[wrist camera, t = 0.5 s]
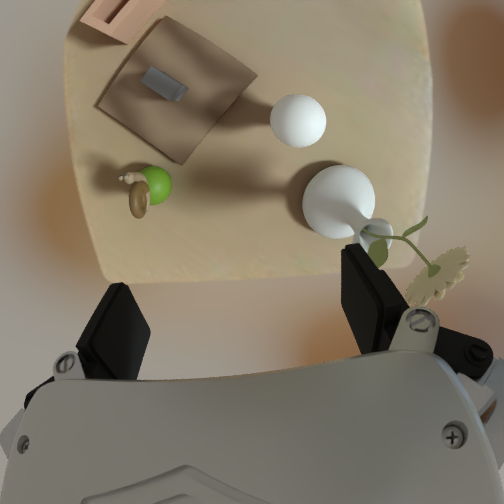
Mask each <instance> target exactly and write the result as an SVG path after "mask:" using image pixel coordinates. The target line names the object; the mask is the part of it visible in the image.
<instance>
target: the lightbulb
mask: <svg viewBox="0 0 504 504" xmlns="http://www.w3.org/2000/svg"><path fill="white" fill-rule="evenodd" d="M270 125H271V128H272V131H273V133H274V134H275V136H276V137H277V138H278V139H279V140H280V141H282V142H283V143H285V144H286V145H289V146H292V147H306V146H309V145H311V144H313V143H315V142H316V141H318V140H319V139H320V137H321V136H322V134H323V133H324V130H325V127H326V117H325V113H324V111H323V109H322V107H321V106H320V104H319V103H318V102H317V101H315V100H314V99H312V98H311V97H309V96H306V95H302V94H292V95H288V96H286V97H283V98H282V99H280V100H279V101H278V102H277V103H276V104H275V105H274V107H273V109H272V111H271V115H270Z"/></svg>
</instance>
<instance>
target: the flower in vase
mask: <svg viewBox="0 0 504 504" xmlns="http://www.w3.org/2000/svg"><path fill="white" fill-rule="evenodd" d="M374 206H375V195H374V190H373V187H372V184H371V182H370V181H369V179H368V178H367V176H366V175H365V174H364V173H362V172H361V171H360V170H358V169H356V168H354V167H351V166H347V165H336V166H331V167H328V168H326V169H324V170H322V171H320V172H319V173H318V174H316V175H315V176H314V177H313V178H312V180H311V181H310V182H309V184H308V185H307V187H306V190H305V192H304V196H303V202H302V207H303V213H304V217H305V219H306V221H307V223H308V224H309V226H310V227H311V228H312V229H313V230H314V231H315V232H317V233H318V234H320V235H322V236H325V237H329V238H335V239H339V238H346V237H349V236H352V235H354V237H353V244H354V243H360V244H361V246H362V247H363V248H364V250H365V251H366V252H367V254H368V255H369V257H370V258H371V259H372V261H373V262H374V263H375V265H376V266H377V268H379V267H380V266H382V265H383V264H384V263H385V262H386V260H387V258H388V248H389V247H390V245H391V242H392V239H398V240H403V241H405V242H407V243H408V244H409V245H410V246H411V247H412V248H413V249H414V250H415V251H416V252H417V254H418V255H419V256H420V257H421V258H422V259H423V261H424V262H425V263H426V264H427V265H428V266H427V267H426V268H424V269H423V270H422V271H421V272H420V274H419V275H418V276H416V278H415V279H414V281H413V282H412V283H411V284H410V285H409V286H408V288H407V290H406V291H407V292H406V294H405V301H406V302H407V301H408V300H409V301H408V303H407V304H408V305H410V304H412V303H414V302H415V301H416V304H415V306H425V305H426V304H427V302H428V301H429V299H431V298H432V296H434V299H435V300H436V301H439V300H441V299H442V298H443V297H444V294H445V289H446V290H449V289H451V288H453V287H454V285H455V282H459V281H461V280H462V279H463V278H464V276H465V275H464V273H462V272H461V271H462V270H463V269H465V268H466V267H468V265H469V262H468V260H469V258H470V256H469V255H467V254H468V253H469V251H466V250H467V247H466V246H464V247H462V248H459V247H457V248H455V249H451V250H449V251H447V252H446V253H445V254H442V255H440V256H439V257H438V258H437V259H436V260H434V261H432V262H431V263H429V262H428V261H427V259H426V258H425V257H424V256H423V255H422V254H421V252H420V251H419V250H418V249H417V248H416V247H415V246H414V245H413V244H412V243H411V242H410V241H409V240H408V239H406V238H404V237H406V236H408V235H409V234H411V233H413V232H415V231H417V230H419V229H420V228H422V227H423V226H424V225H425V224H426V223H427V219H428V216H426V218H425V219H424V220H423V221H422V222H420V223H419V224H417V225H415V226H413V227H411V228H409V229H407V230H406V231H405V232H404V233H403V235H402V237H400V236H393V231H392V228H391V226H390V224H389V223H388V222H387V221H386V220H384V219H381V218H372V219H370V218H371V216H372V214H373V211H374Z"/></svg>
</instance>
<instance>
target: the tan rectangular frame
mask: <svg viewBox="0 0 504 504" xmlns="http://www.w3.org/2000/svg"><path fill="white" fill-rule="evenodd" d="M165 2H166V0H95V1H94V3H93V4H92V5H91V6H90V8H89V9H88V10H87V11H86V13H85V14H84V15H83V17H82V18H81V19H80V21H81V22H83V23H85V24H87V25H89V26H91V27H93V28H95V29H97V30H99V31H101V32H103V33H105V34H107V35H109V36H111V37H113V38H115V39H117V40H119V41H122V42H124V43H126V44H129V42H130V41H131V40H132V39H133V37H134V36H135V35H136V34H137V33H138V31H139V30H140V29H141V28H142V27H143V25H144V24H145V23H146V22H147V21H148V20H149V19H150V17H151V16H152V15H153V14H154V13H155V12H156V11H157V10H158V9H159V8H160V7H161V6H162V5H163V4H164V3H165Z"/></svg>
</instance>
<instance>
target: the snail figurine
mask: <svg viewBox="0 0 504 504" xmlns="http://www.w3.org/2000/svg"><path fill="white" fill-rule="evenodd" d="M118 179H119V180H123V176H119V177H118ZM124 181H125V182H126V183H127V184H132V183H133V182H134V184H133V185H132V187H131V189H130V193H129V206H130V210H131V213H132V215H133V216H134V217H135V218H138V219H140V218H142V217H144V215H145V213H146V212H148V210H149V207H150V205H157V204H160V203H162V202H163V201H164V200H165V199H166V198H167V197H168V196H169V194H170V192H171V188H172V182H171V178H170V176H169V174H168V173H167V172H166V171H165V170H164V169H162V168H160V167H157V166H149V167H146V168H144V169H142V170H141V171H140V172H127V173H126V174H125V175H124Z"/></svg>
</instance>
